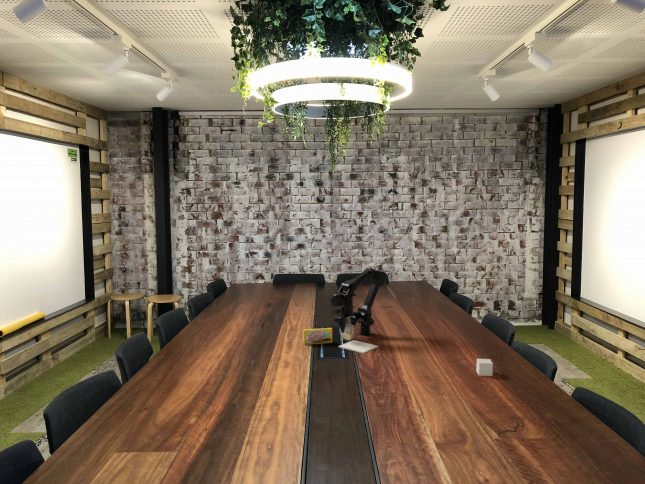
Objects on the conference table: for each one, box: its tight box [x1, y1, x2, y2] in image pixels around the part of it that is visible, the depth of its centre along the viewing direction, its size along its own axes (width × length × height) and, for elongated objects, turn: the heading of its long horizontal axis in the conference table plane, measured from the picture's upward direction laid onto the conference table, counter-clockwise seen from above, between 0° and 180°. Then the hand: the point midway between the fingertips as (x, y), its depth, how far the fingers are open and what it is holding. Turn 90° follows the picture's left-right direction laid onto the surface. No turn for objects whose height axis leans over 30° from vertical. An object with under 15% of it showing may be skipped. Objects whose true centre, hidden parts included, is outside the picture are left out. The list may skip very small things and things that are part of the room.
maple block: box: [340, 322, 355, 341], centre depth 284 cm, size 4×6×8 cm, turn 51°
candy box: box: [302, 327, 333, 346], centre depth 274 cm, size 16×2×8 cm, turn 105°
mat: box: [338, 339, 379, 354], centre depth 268 cm, size 14×16×1 cm
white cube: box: [475, 358, 494, 377], centre depth 231 cm, size 6×6×6 cm
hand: (347, 331), depth 284 cm, fingers open, 9 cm apart
